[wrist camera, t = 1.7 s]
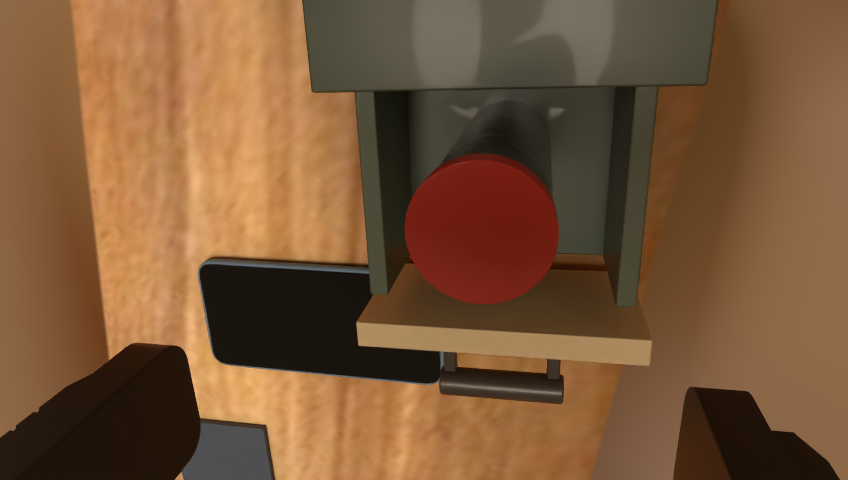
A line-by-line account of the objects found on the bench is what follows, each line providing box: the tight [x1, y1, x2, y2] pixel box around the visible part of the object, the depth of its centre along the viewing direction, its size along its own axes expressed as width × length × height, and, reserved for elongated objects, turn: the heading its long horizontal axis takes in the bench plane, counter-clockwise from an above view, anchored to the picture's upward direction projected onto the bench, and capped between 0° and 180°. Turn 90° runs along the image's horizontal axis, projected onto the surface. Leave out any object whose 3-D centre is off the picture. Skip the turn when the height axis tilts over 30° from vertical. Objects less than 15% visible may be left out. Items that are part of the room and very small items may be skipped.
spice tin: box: [405, 100, 559, 304], centre depth 21 cm, size 4×4×12 cm
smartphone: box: [198, 258, 444, 385], centre depth 34 cm, size 7×1×15 cm
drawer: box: [355, 86, 659, 404], centre depth 26 cm, size 17×12×7 cm
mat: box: [182, 419, 275, 480], centre depth 41 cm, size 7×7×1 cm
